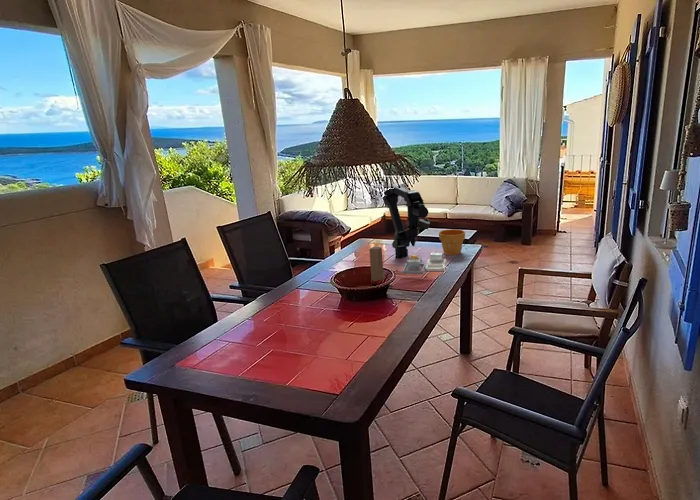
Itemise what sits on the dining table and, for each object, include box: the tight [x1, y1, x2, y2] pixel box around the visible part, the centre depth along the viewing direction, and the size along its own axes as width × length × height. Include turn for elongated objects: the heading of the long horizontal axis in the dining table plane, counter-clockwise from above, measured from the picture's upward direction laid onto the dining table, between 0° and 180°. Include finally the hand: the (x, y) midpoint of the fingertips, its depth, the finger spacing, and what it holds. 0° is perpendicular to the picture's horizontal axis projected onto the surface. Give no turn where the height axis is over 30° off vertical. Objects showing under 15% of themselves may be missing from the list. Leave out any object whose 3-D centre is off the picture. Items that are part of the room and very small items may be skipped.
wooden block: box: [369, 246, 386, 281], centre depth 202 cm, size 9×4×18 cm, turn 59°
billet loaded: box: [429, 252, 444, 262], centre depth 226 cm, size 6×4×5 cm, turn 74°
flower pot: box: [438, 228, 466, 256], centre depth 241 cm, size 14×14×13 cm
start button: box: [410, 254, 419, 259], centre depth 231 cm, size 4×4×3 cm
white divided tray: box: [424, 258, 448, 272], centre depth 222 cm, size 10×17×2 cm, turn 164°
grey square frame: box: [406, 257, 423, 263], centre depth 231 cm, size 7×7×2 cm
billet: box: [407, 259, 422, 271], centre depth 220 cm, size 6×4×5 cm, turn 74°
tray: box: [402, 262, 427, 274], centre depth 220 cm, size 10×13×2 cm
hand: (414, 244), depth 229 cm, fingers open, 8 cm apart
